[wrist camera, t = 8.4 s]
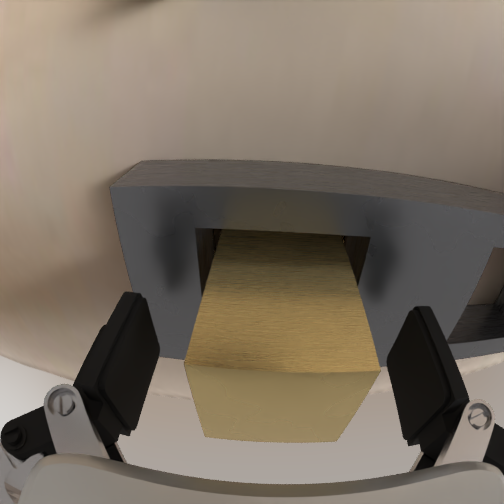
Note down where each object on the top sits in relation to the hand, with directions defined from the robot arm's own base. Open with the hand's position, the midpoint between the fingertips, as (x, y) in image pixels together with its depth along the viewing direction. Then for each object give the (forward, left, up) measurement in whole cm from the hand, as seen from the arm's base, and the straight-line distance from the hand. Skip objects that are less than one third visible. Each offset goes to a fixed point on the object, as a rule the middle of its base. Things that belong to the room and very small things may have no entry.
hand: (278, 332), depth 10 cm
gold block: (0, 0, -5) cm, 5 cm away
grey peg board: (-6, 0, -5) cm, 8 cm away
